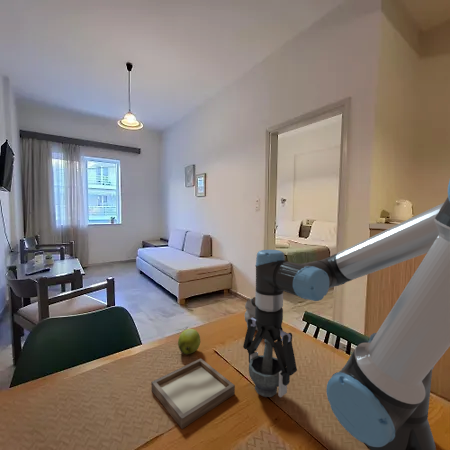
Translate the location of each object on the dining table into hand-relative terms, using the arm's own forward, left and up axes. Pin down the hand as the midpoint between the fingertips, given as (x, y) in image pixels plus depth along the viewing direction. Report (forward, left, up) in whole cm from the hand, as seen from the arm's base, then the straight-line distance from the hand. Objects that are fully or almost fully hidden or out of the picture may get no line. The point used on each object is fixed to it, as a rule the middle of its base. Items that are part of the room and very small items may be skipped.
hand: (267, 384), depth 71 cm
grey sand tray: (+13, +16, -3) cm, 21 cm away
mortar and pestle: (0, 0, -1) cm, 1 cm away
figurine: (+26, -24, -3) cm, 36 cm away
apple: (+30, +6, -3) cm, 31 cm away
